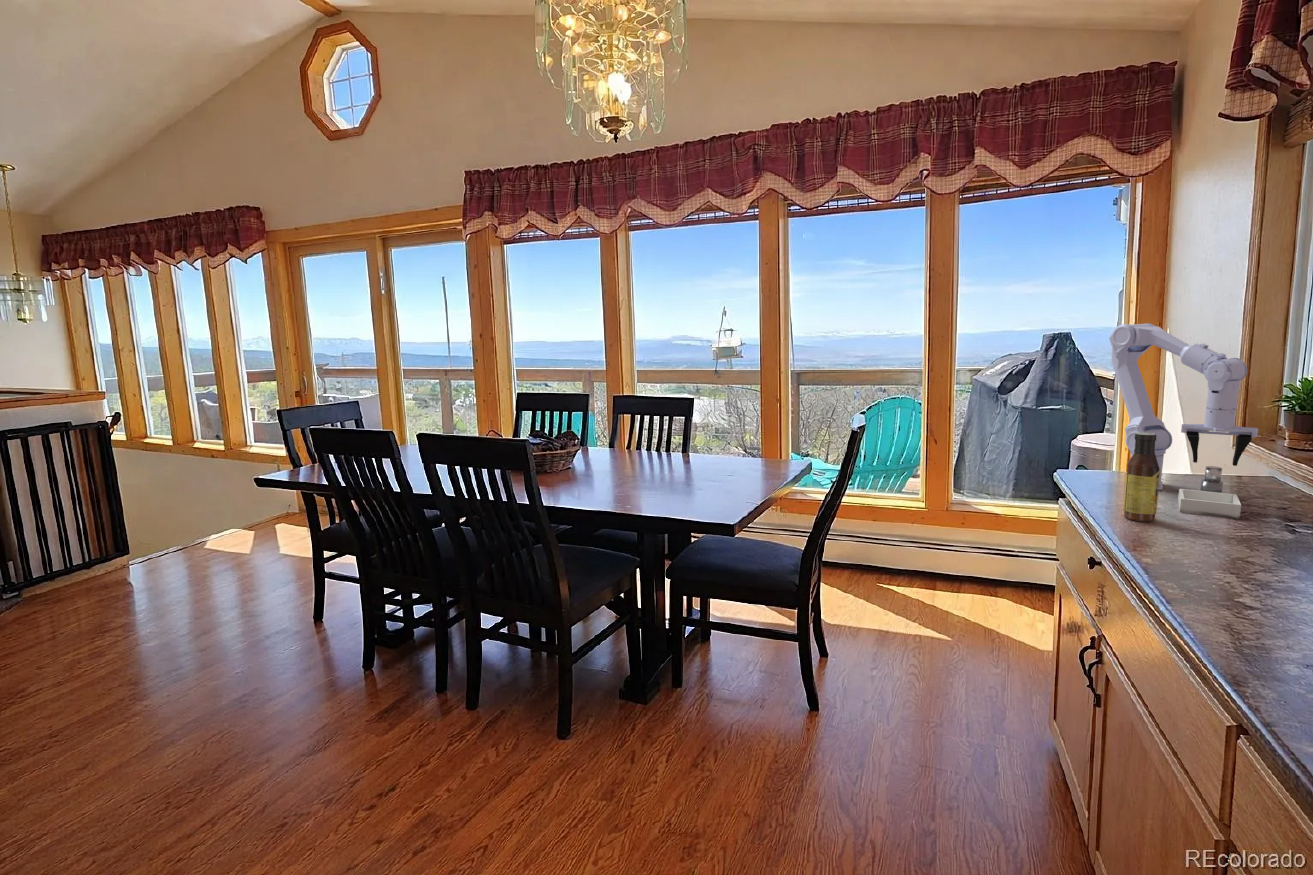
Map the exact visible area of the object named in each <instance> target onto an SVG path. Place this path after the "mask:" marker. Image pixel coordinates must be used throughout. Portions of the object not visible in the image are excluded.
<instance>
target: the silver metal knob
mask: <svg viewBox="0 0 1313 875" xmlns="http://www.w3.org/2000/svg"><path fill="white" fill-rule="evenodd" d="M1204 470H1205V471H1204V479H1201V483H1200V490H1199V491H1208V492H1218V493H1223V487H1224V482H1223V481H1222V475H1223V467H1220V466H1215V465H1214V466H1213V465H1207V466H1205V469H1204Z"/></svg>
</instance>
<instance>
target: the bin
mask: <svg viewBox="0 0 1313 875" xmlns="http://www.w3.org/2000/svg"><path fill="white" fill-rule="evenodd" d="M1177 501H1178V502H1177V504H1178V510H1179V512H1180V513H1187V514H1193V515H1194V514H1196V515H1203V516H1212V517H1220V518H1221V517H1223V518H1231V519H1238V520H1239V519H1240V518H1241V510H1242V504H1241V502H1240V499H1239V497H1238V495H1237V493H1227V492H1222V493H1218V492H1208V491H1200V490H1196V489H1187V488H1179V489H1178V498H1177Z"/></svg>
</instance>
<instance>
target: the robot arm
mask: <svg viewBox="0 0 1313 875" xmlns="http://www.w3.org/2000/svg"><path fill="white" fill-rule="evenodd" d="M1110 334H1111V335H1110V337H1108V338H1109V342H1110V345H1111V363H1112V366H1113V370H1114V372H1115V376H1116V378H1117V382H1118V386H1119V389H1120V392H1121V394H1122V399H1123V401H1124V404H1125V408H1126V410H1127V414H1128V417H1129V420H1130V421H1129V423H1128V424H1127V425H1126V427H1125V428H1124V431H1125V445H1126V447H1127V449H1128V450H1129V454H1130V458H1131V457H1132V456H1133V454H1134V449H1135V433H1154V434H1156V441H1155V455H1156V458H1157V462H1158V465H1159V468H1160V474H1159V487H1158V491H1159V490H1160V491H1163V489H1164V488H1163V481H1162V475H1163V466H1164V457H1165V456H1164V455H1165V454H1166V451H1167V450H1168V449H1169V448H1170V447H1171V446H1172V445H1173V436H1172V434H1171V432H1170V431H1169V430H1168V429H1167V428H1166V426H1165V422H1164V421H1162V420H1161V419H1160V418H1158V417H1157V416H1155V413H1154V410H1153V407H1152V403H1151V401H1150V397H1149V395H1148V391H1147V389H1146V386H1145V383H1144V382H1145V381H1144V379H1143V376H1142V372H1141V370H1140V367H1139V364H1138V360H1139V359H1140V357H1141V356H1143V354H1144V353H1146V351H1148V349H1150V348H1151V347H1152V346H1155V347H1158V348H1159V349H1162V350H1165V351H1166V352H1169V353H1171V354H1173V355H1176V356H1178V357H1180V361H1181V363H1182V364H1183V365H1185V366H1187V367H1189V368H1191V369H1192V370H1194V371H1196V372H1198V373H1200V374H1201V375H1204V378H1205V379H1206V381H1207V388H1208V390H1207V397H1206V398H1207V399H1206V408H1205V415H1204V416H1205V417H1204V424H1201V423H1199V424H1197V423H1196V424H1193V423H1189V424H1187V423H1181V429H1180V433H1183V434H1184V433H1185V434H1186V437H1187V440H1188V442H1189V445H1190V448H1191V452H1192V463H1194V464H1197V463H1198V459H1199V458H1198V453H1199V452H1198V450H1199V443H1200V434H1208V435H1219V436H1220V435H1221V436H1222V435H1223V436H1235V445H1234V452H1233V453H1234V454H1233V457H1232V466H1234V467H1237V466H1238V465H1239V464H1238V463H1239V461H1240V458H1241V456H1242V454H1244V453H1243V452H1244V451H1245V450H1246V448H1247V447H1248V446H1249V445H1250V444H1251V442H1252V439H1253V438H1258V434H1259V428H1257V427H1247V426H1246V427H1245V426H1235V424H1236V415H1237V406H1238V400H1239V391H1240V390H1239V389H1240V383H1241V381H1242V380H1243V379H1245V377H1246V376H1247V373H1248V367H1247V364H1246V362H1244V361H1243V360H1241V359H1240V358H1239V357H1231V358H1228V357H1227V354H1226V353H1223V352H1219V353H1218V352H1217V351H1215V350H1212V349H1210V348H1209V345H1208V344H1206V343H1193V344H1191V345H1190V344H1189V343H1187V342H1185V341H1183V340H1182V339H1180V338H1178V337H1176V336H1174V335H1173V334H1171V333H1169V332H1167V331H1165V330H1163V328H1162V327H1160V326H1158V325H1154V324H1152V323H1147V322H1146V323H1140V324H1138V323H1137V324H1127V323H1122V324H1118V326H1116V327H1115V328H1114V329H1113V331H1112V333H1110Z"/></svg>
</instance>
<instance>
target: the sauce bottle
mask: <svg viewBox="0 0 1313 875" xmlns="http://www.w3.org/2000/svg"><path fill="white" fill-rule="evenodd" d="M1155 441H1156V434H1154V433H1135V449H1134V454H1133V456H1132V457H1131V456H1130V458H1129V459H1128V461H1127V468H1126V474H1125V484H1124V485H1125V486H1124V488H1125V489H1124V496H1123V497H1124V500H1123V511H1124V512H1123V516H1124V517H1125V518H1126V519H1128V520H1131V521H1134V522H1153V521H1154V520H1155V519H1156V514H1157V510H1158V509H1157V508H1158V497H1159V490H1158V487H1159V474H1160V468H1159V465H1158V462H1157V458H1156V455H1155Z"/></svg>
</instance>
